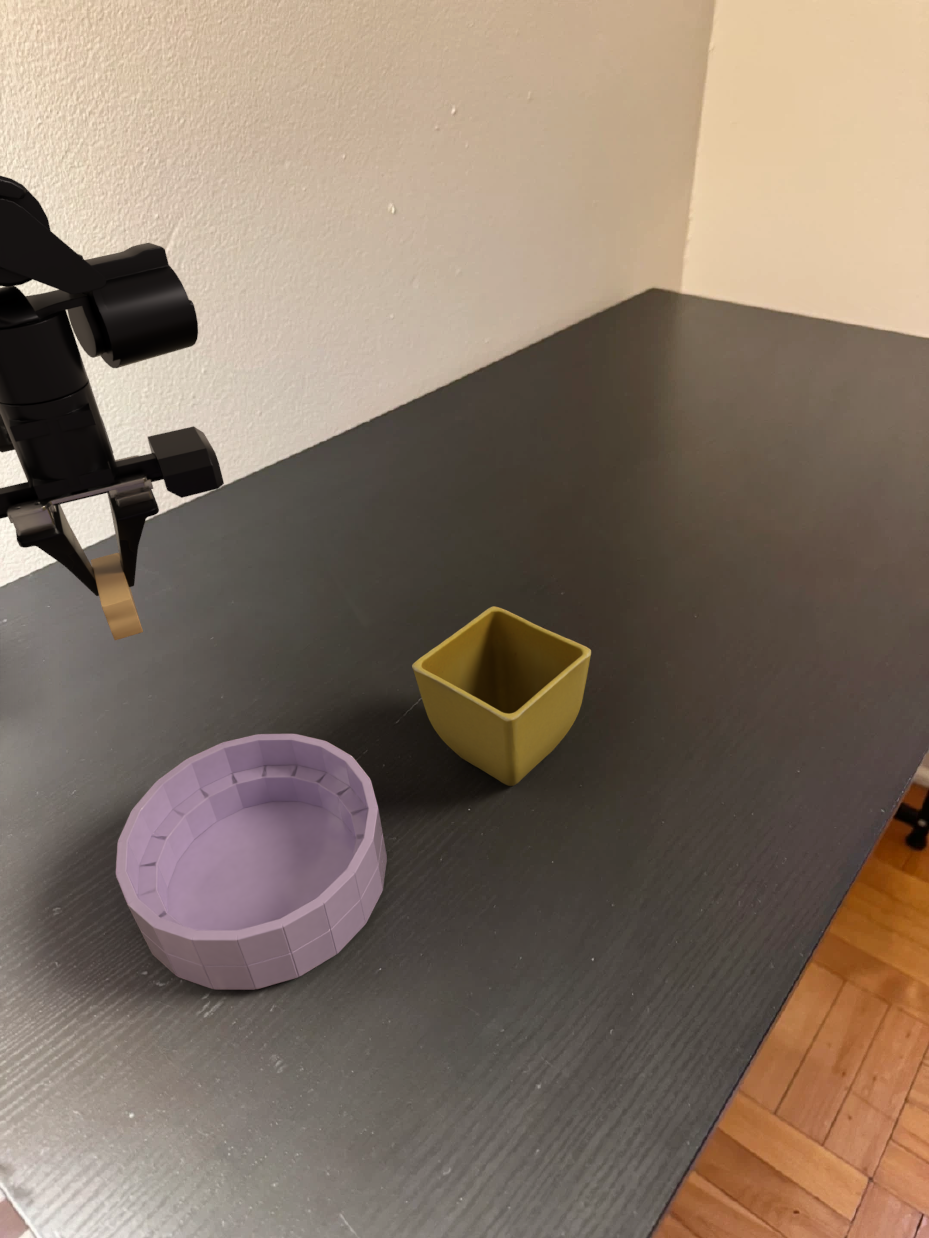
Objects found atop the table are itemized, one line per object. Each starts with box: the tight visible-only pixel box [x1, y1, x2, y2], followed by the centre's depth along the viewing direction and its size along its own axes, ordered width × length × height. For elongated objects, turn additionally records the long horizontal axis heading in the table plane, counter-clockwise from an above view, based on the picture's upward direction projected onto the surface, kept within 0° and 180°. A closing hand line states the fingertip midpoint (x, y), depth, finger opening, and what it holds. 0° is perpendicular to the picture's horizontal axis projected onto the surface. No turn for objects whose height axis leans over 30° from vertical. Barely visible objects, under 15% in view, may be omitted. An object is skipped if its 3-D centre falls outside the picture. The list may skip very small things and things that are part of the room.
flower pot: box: [411, 605, 592, 787], centre depth 58 cm, size 9×9×9 cm
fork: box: [90, 552, 144, 641], centre depth 63 cm, size 11×3×3 cm, turn 26°
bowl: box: [115, 733, 388, 991], centre depth 52 cm, size 15×15×6 cm
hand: (115, 588), depth 63 cm, fingers closed on fork, 2 cm apart
